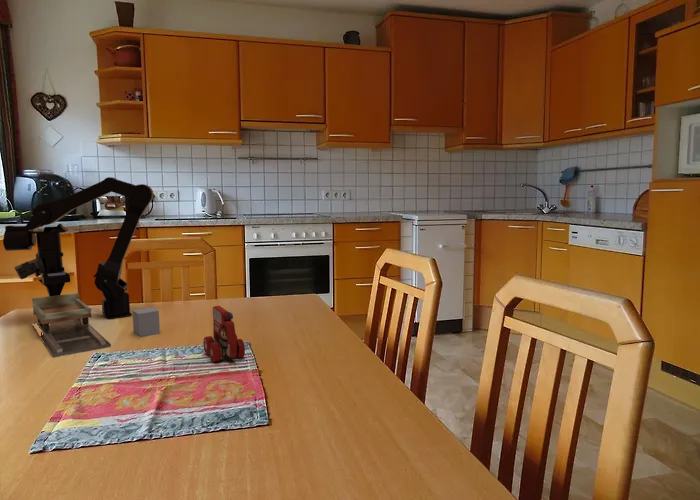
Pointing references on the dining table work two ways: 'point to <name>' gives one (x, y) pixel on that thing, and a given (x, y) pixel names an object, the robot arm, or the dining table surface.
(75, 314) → the cart
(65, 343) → the track
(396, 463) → the dining table surface
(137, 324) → the part block
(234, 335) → the toy fire truck
